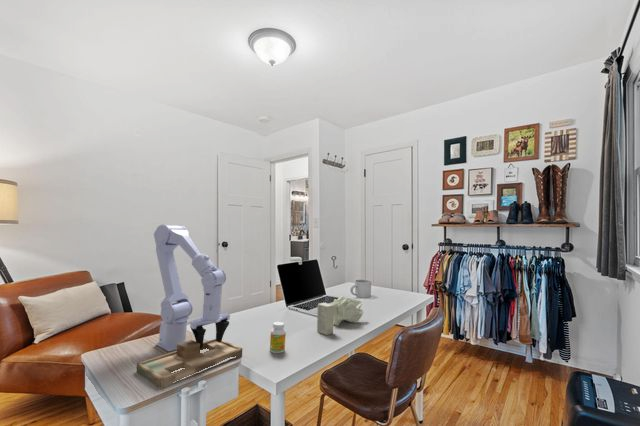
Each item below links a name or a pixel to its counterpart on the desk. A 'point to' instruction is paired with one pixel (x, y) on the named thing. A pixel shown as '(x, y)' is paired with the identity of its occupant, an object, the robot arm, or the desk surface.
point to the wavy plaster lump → (346, 310)
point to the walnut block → (188, 349)
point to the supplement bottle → (277, 338)
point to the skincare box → (325, 318)
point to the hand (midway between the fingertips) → (209, 344)
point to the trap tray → (185, 363)
